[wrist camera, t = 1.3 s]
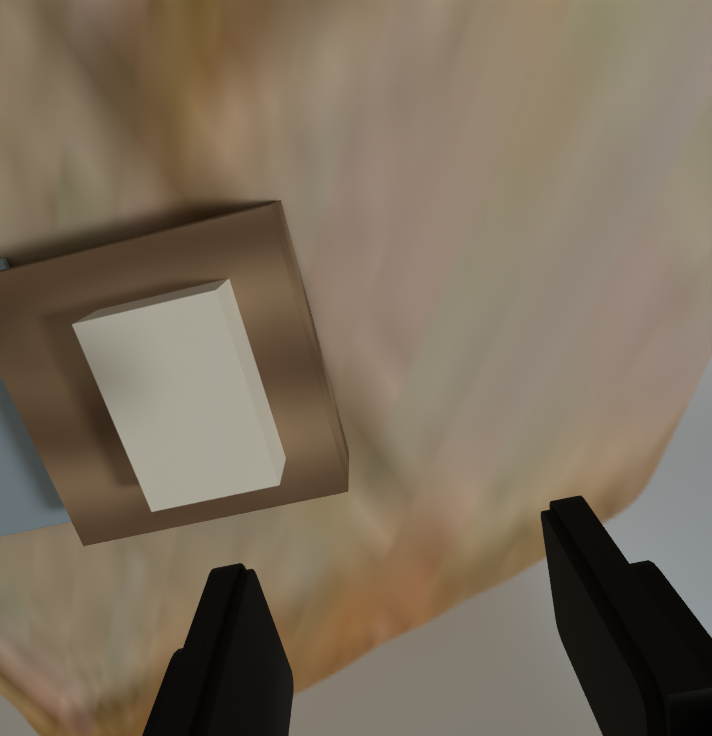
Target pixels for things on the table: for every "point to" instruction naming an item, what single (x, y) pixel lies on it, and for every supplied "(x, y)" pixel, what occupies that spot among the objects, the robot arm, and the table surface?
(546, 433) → the table surface
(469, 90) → the table surface
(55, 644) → the table surface
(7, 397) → the mat
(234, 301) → the white rectangular block
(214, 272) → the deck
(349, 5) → the table surface
